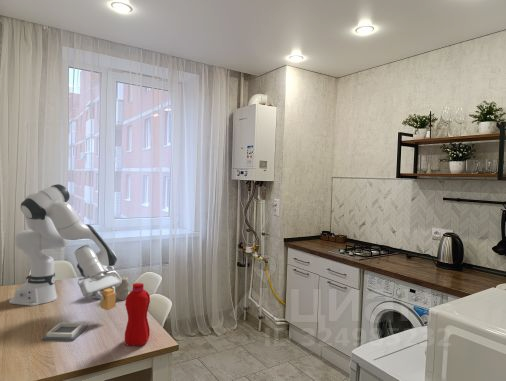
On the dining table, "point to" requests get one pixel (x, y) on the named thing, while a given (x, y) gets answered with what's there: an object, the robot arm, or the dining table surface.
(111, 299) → the stepped orange block
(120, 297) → the carving
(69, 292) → the dining table surface
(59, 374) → the dining table surface
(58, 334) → the base
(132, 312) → the water bottle
